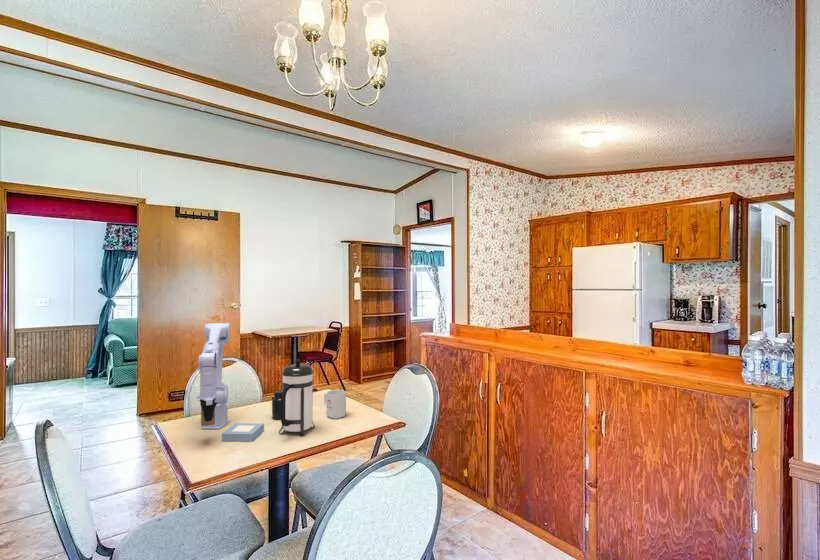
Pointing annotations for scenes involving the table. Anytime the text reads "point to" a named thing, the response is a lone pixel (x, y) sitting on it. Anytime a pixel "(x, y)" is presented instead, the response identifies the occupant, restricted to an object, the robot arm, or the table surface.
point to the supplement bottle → (276, 405)
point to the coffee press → (297, 398)
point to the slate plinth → (243, 432)
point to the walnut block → (207, 421)
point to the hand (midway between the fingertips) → (207, 419)
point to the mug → (335, 403)
